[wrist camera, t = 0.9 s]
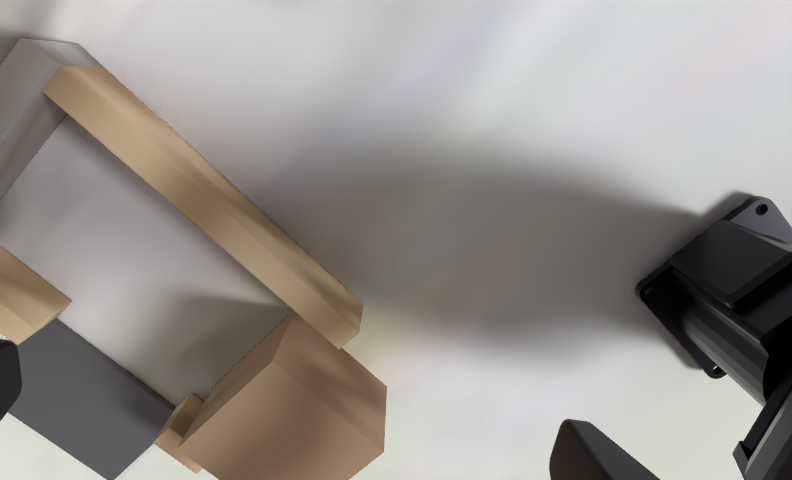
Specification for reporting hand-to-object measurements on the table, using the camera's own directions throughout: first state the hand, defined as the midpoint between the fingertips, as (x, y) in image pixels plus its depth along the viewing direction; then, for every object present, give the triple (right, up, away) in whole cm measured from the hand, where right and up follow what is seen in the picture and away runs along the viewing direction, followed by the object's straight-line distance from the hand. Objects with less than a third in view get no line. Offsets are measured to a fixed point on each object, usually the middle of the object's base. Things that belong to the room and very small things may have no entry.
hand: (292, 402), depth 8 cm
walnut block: (-3, -4, +16) cm, 17 cm away
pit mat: (-14, -5, +16) cm, 22 cm away
